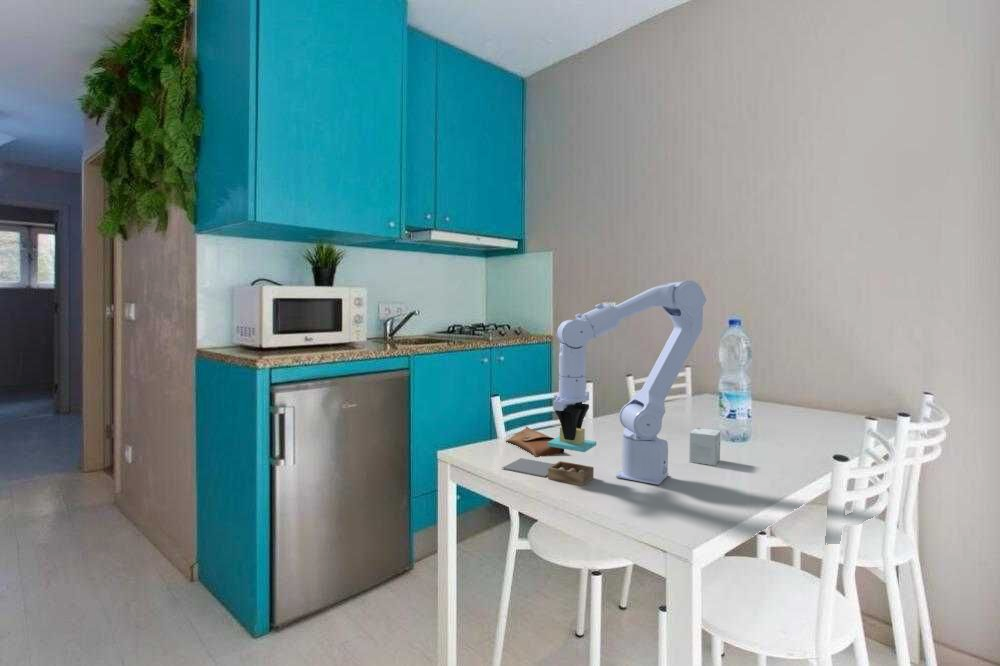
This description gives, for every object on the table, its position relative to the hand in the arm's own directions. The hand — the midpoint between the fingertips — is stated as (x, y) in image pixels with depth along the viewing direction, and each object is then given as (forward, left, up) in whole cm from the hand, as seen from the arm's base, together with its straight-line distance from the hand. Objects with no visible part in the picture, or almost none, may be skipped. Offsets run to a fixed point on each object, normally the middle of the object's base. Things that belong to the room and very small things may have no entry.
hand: (571, 438), depth 115 cm
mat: (+11, -2, -9) cm, 14 cm away
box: (0, 0, -9) cm, 9 cm away
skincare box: (-22, -29, -9) cm, 38 cm away
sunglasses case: (+19, -18, -10) cm, 28 cm away
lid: (0, 0, -2) cm, 2 cm away
